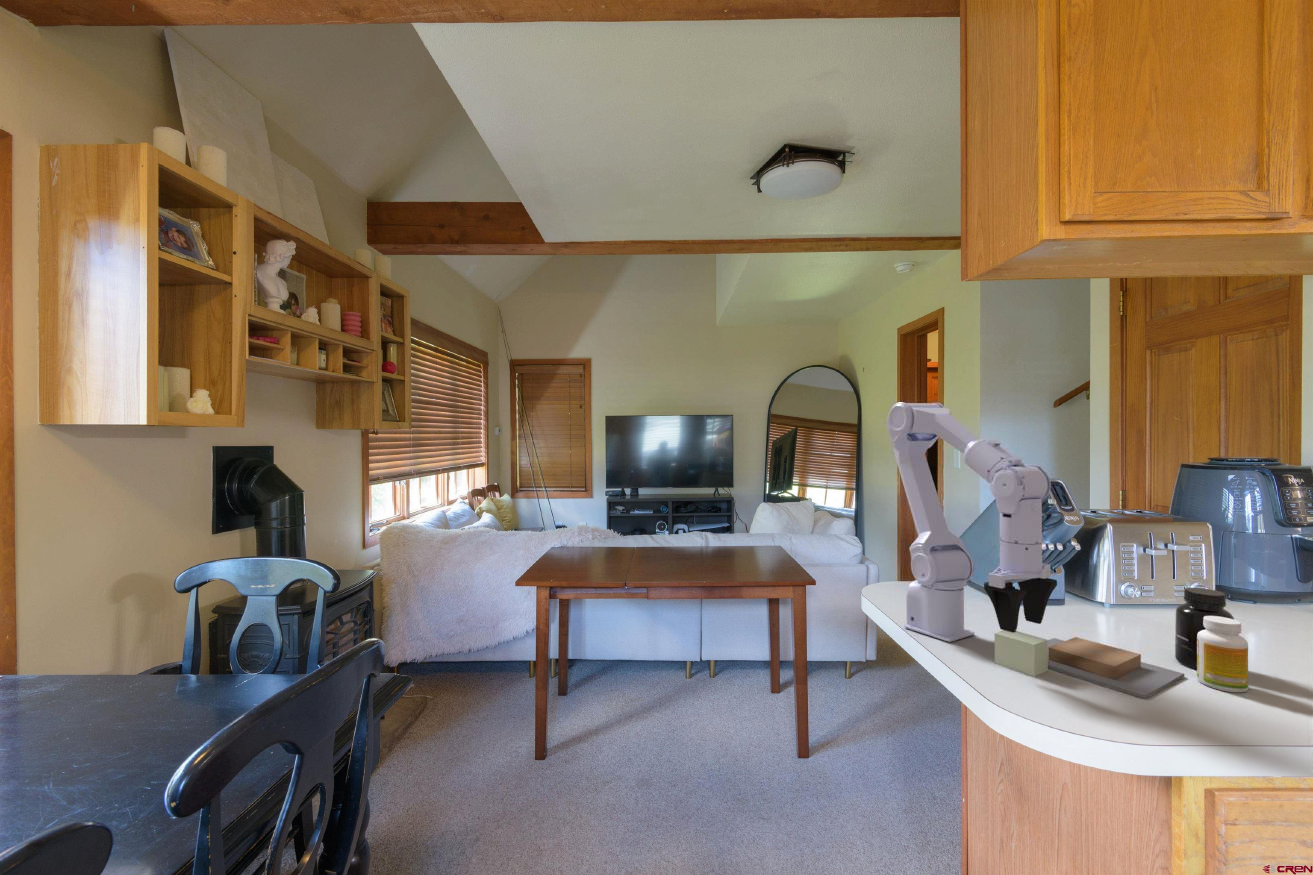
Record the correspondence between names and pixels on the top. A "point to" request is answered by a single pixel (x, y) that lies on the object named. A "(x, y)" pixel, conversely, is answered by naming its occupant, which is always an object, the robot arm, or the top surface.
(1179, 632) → the supplement bottle
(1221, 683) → the supplement bottle
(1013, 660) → the sage brick
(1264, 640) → the top surface
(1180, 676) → the grey mat
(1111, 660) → the walnut base brick
